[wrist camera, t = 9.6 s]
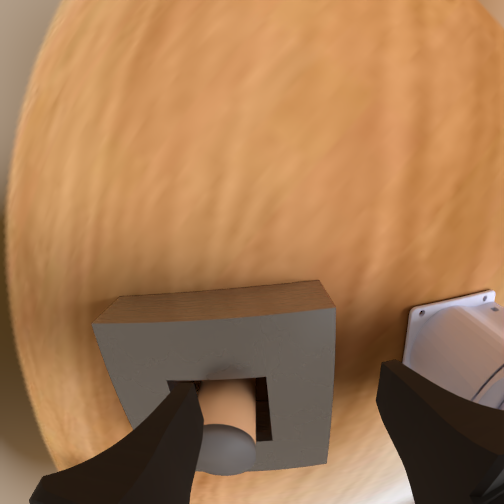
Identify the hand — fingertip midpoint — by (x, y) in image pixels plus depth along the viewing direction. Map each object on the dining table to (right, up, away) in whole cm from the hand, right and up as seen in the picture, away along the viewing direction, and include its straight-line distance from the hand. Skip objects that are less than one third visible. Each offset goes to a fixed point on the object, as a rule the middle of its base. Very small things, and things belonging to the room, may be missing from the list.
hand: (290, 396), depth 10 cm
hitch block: (-3, -4, +11) cm, 12 cm away
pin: (-3, -4, +11) cm, 12 cm away
